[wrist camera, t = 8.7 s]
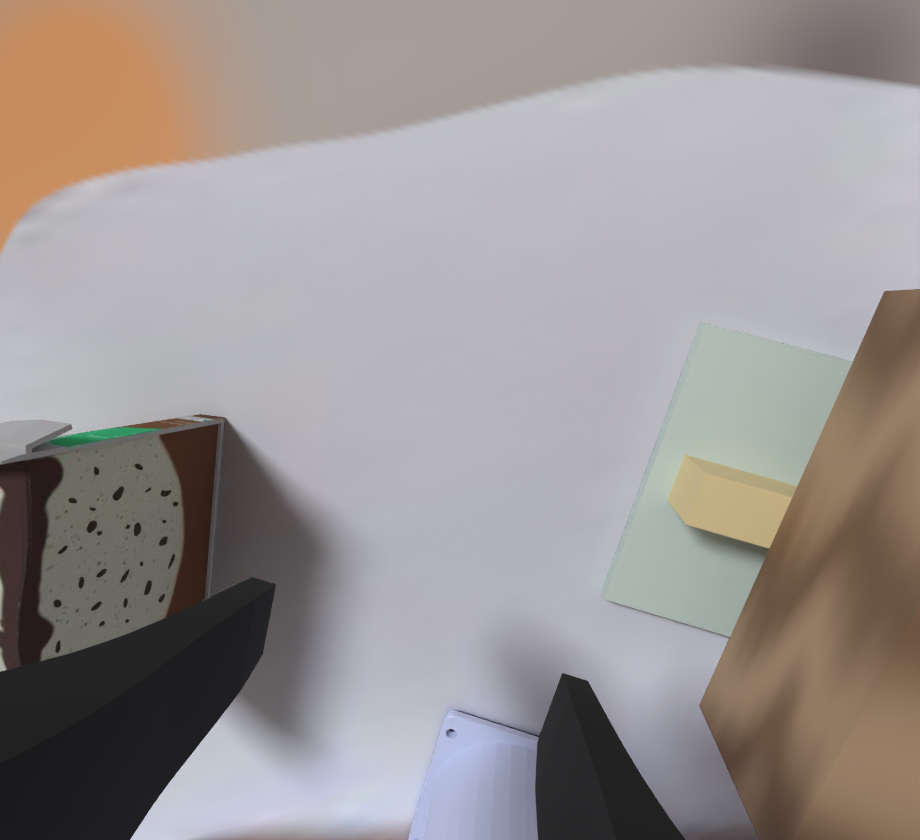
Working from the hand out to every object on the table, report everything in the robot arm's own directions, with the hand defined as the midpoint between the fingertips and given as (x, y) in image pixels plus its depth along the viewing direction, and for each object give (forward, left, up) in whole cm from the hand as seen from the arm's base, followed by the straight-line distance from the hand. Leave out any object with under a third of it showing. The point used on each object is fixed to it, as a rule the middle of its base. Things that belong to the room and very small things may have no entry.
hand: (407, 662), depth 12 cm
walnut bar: (+4, -13, -7) cm, 16 cm away
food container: (-4, +14, -11) cm, 18 cm away
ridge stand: (+4, -13, -10) cm, 17 cm away
